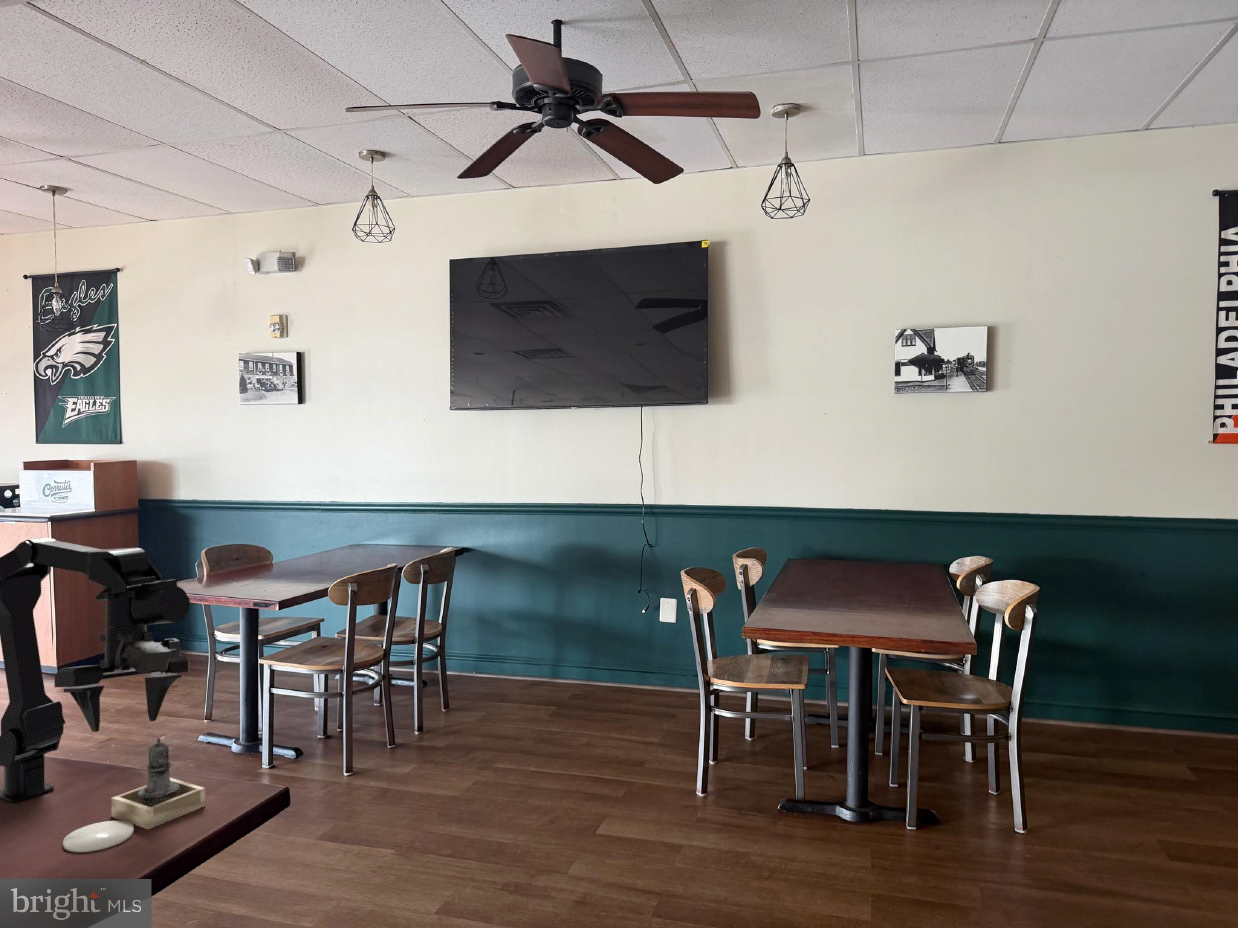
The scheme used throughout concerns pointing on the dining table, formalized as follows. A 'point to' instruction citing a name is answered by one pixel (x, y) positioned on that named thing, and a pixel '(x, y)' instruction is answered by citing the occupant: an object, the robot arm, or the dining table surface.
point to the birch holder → (157, 806)
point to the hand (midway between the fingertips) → (125, 726)
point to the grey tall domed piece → (158, 777)
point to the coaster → (98, 836)
